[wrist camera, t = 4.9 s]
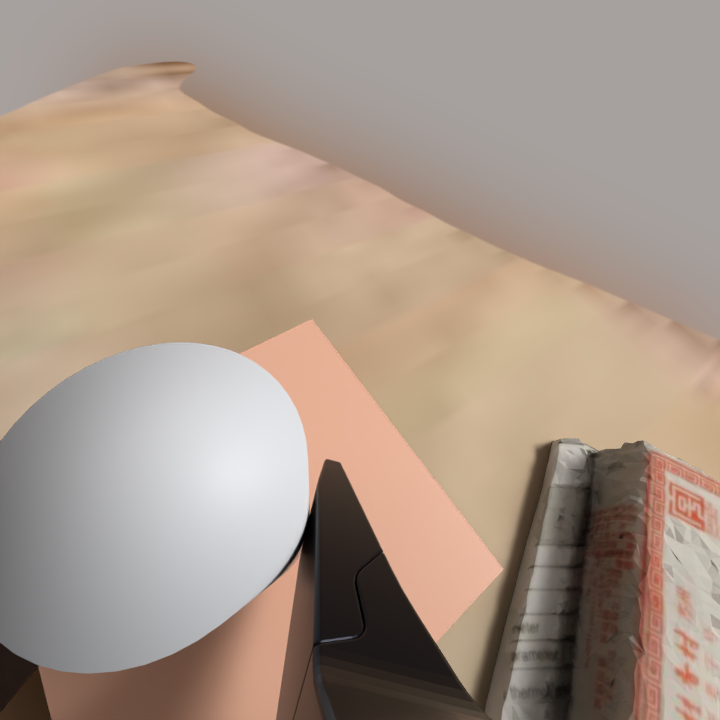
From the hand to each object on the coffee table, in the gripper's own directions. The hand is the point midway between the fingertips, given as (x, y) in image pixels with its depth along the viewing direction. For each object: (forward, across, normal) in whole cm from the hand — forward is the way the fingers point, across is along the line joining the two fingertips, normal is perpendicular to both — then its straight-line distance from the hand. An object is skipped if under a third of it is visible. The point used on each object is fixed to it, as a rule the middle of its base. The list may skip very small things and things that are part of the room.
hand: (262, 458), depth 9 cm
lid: (+2, 0, +4) cm, 4 cm away
